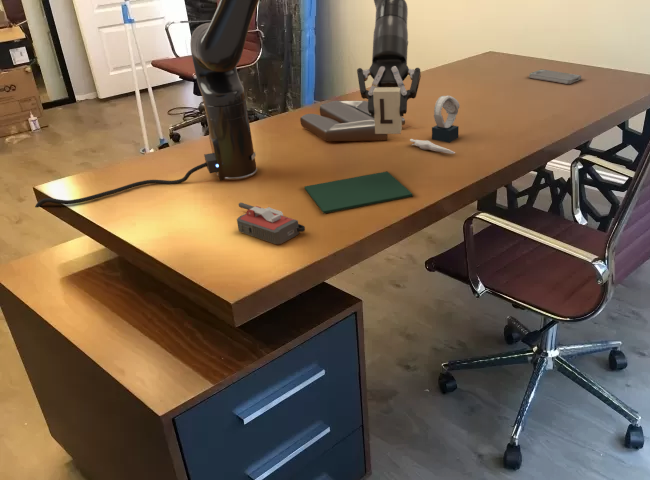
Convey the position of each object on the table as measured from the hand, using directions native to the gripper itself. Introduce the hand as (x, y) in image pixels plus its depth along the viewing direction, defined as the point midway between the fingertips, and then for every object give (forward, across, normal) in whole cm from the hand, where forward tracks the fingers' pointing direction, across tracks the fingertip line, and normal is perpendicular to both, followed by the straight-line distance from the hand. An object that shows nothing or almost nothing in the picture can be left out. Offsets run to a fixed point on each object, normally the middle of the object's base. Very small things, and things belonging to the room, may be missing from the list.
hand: (387, 114), depth 138 cm
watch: (-12, +12, +34) cm, 38 cm away
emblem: (-18, -14, +41) cm, 47 cm away
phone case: (-49, +50, +70) cm, 99 cm away
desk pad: (+14, -7, +8) cm, 18 cm away
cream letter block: (+2, 0, +4) cm, 5 cm away
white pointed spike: (-9, +8, +29) cm, 31 cm away
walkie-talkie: (+27, -24, -4) cm, 36 cm away
